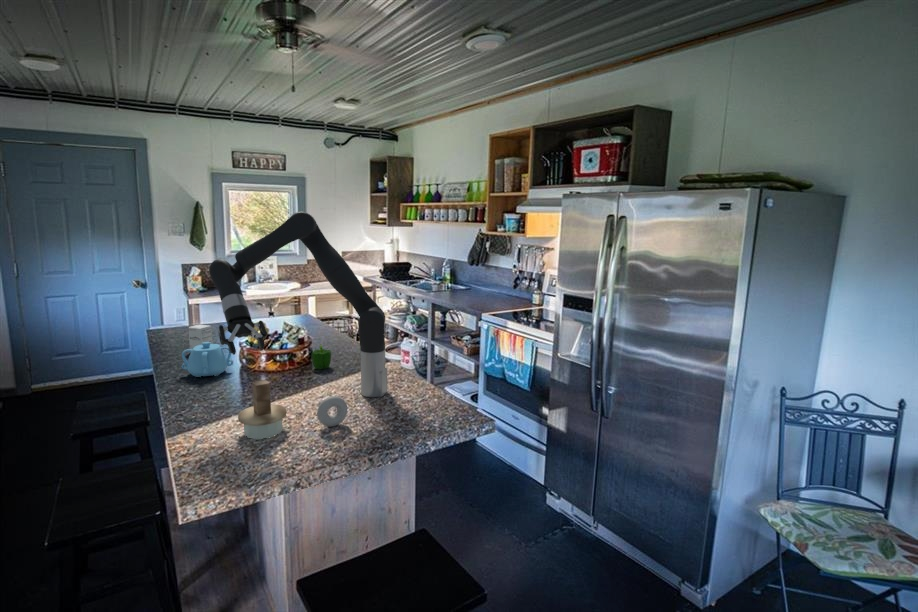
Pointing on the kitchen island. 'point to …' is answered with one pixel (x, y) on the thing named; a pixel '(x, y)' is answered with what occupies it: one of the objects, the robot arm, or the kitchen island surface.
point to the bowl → (263, 430)
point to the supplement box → (199, 335)
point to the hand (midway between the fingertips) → (248, 351)
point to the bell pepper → (321, 358)
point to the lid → (261, 407)
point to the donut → (326, 405)
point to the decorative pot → (206, 360)
